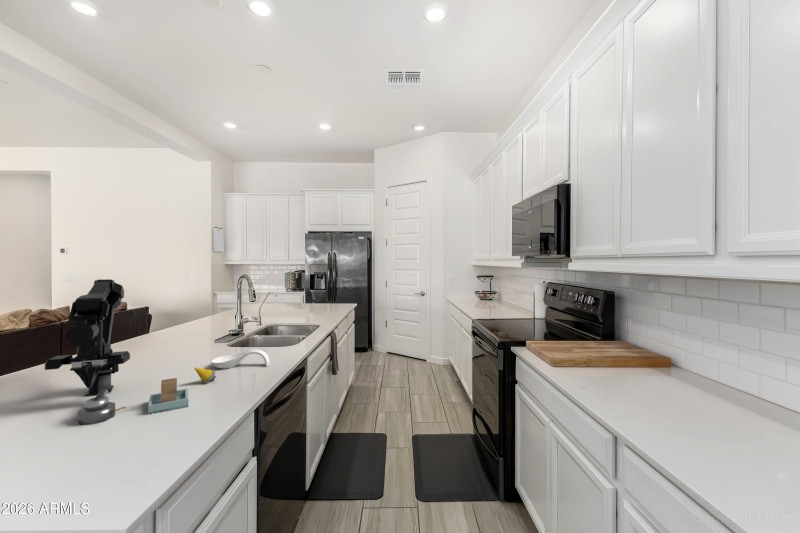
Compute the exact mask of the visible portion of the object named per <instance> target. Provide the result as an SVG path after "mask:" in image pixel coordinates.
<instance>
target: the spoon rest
mask: <svg viewBox="0 0 800 533" xmlns="http://www.w3.org/2000/svg"><path fill="white" fill-rule="evenodd" d="M251 354H256V355H259V356H261V357H262V358H263V361H264V366H265V368H267V367H268V366H270V365H271V361H270V360H271V359H270V357H269V355H268V353H266V352H265V351H263V350H260V349H257V348H256V349H255V348H254V349H253V348H252V349H249V350H245V351H243V352H239V353H234V354H227V355H221V356H219V357H215V358H213V359H212V360H211V361H210V363H211V365H212V366H213V367H215V368H218V369H221V370H222V369H224V370H226V369H232V368H235V367H236V366H237V365H238V364H239V363H241V361H242V360H244V359H245V358H246V357H247V356H249V355H251Z"/></svg>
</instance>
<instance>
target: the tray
mask: <svg viewBox="0 0 800 533" xmlns="http://www.w3.org/2000/svg"><path fill="white" fill-rule="evenodd" d="M188 407H189V389H188V388H182V389H177V400H175V401H170V402H164V403H161V392H160V393H153V394H150V395H149V399H148V407H147V415H148V414H149V415H152V413H154V414H158V413H157V412H159V413H163V411H164V412H168V411H173V410H179V409H183V408H188Z"/></svg>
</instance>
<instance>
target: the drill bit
mask: <svg viewBox="0 0 800 533" xmlns="http://www.w3.org/2000/svg"><path fill="white" fill-rule="evenodd" d="M193 370H195V372H196V373H197V375H198V377H199V378H200V381H201V383H203V384H204V385H206V384H208V383H209V382H211V381H213V382H214V381H215V379H216V378H217V375H215V374H216V370H214V369H212V368H211V369H206V368H203V367H202V368H200V367H195V366H194V367H193Z"/></svg>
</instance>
